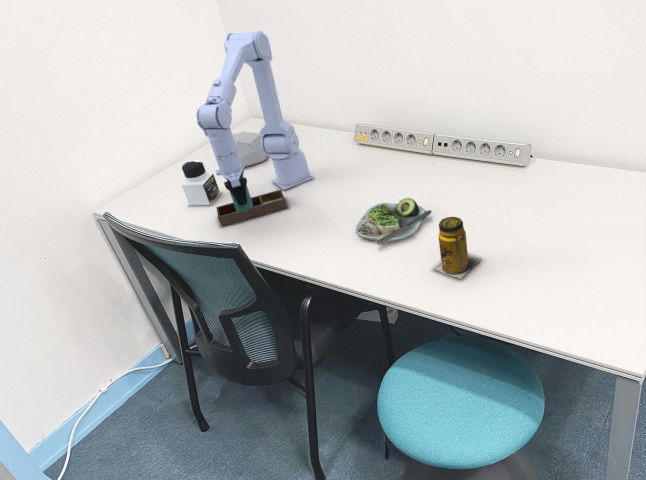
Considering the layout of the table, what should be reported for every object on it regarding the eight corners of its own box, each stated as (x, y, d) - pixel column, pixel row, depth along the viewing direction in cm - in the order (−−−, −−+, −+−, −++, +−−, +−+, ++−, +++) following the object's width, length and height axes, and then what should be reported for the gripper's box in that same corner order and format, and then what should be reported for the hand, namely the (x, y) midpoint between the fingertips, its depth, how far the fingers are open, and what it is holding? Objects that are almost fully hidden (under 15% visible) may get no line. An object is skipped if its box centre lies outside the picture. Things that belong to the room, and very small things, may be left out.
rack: (283, 198, 176) (281, 189, 174) (287, 208, 171) (284, 199, 169) (219, 216, 173) (216, 207, 171) (221, 226, 168) (218, 217, 166)
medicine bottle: (210, 205, 179) (196, 168, 171) (189, 206, 180) (174, 169, 173) (220, 193, 184) (207, 157, 177) (199, 194, 186) (185, 158, 178)
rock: (228, 151, 209) (219, 124, 203) (285, 141, 209) (278, 114, 203) (222, 174, 194) (212, 146, 188) (283, 163, 195) (275, 135, 189)
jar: (249, 200, 163) (240, 174, 158) (255, 207, 160) (246, 179, 155) (233, 207, 161) (223, 180, 156) (239, 213, 158) (230, 186, 153)
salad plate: (410, 253, 145) (408, 237, 142) (344, 246, 151) (340, 230, 148) (436, 211, 158) (434, 195, 156) (374, 206, 165) (371, 191, 162)
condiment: (434, 270, 138) (428, 225, 131) (455, 251, 143) (451, 207, 135) (460, 279, 134) (456, 234, 127) (481, 260, 139) (478, 215, 131)
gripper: (207, 145, 156) (224, 192, 164) (212, 167, 145) (229, 216, 153) (234, 138, 157) (250, 185, 165) (241, 159, 146) (257, 208, 154)
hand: (242, 199), depth 159 cm, fingers closed on jar, 4 cm apart
